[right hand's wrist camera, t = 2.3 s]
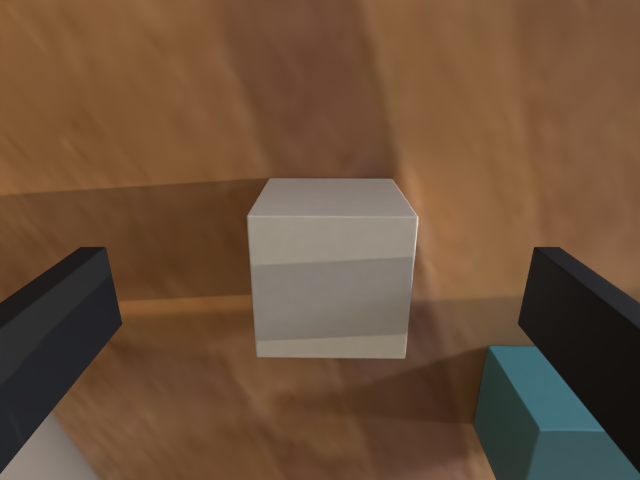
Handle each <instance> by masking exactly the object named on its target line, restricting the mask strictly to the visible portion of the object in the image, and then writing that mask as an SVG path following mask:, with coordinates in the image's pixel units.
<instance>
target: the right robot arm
mask: <svg viewBox="0 0 640 480" xmlns="http://www.w3.org/2000/svg"><path fill="white" fill-rule="evenodd" d="M121 325H122V321H121V316H120V311H119V307H118V302H117V297H116V293H115V288H114V283H113V279H112V274H111V269H110V265H109V260H108V255H107V250H106V247H80V248H79V249H77V250H76V251H75V252H73V253H72V254H70V255H69V256H67V257H66V258H64V259H63V260H62V261H60V262H59V263H57V264H56V265H54V266H53V267H52V268H50V269H49V270H47V271H46V272H44V273H43V274H42V275H40V276H39V277H37V278H36V279H34V280H33V281H31V282H30V283H29V284H27V285H26V286H24V287H23V288H21V289H20V290H19V291H17V292H16V293H14V294H13V295H11V296H10V297H9V298H7V299H6V300H4V301H3V302H1V303H0V473H1V472H2V471H3V470H4V469H5V467H6V466H7V465H8V464H9V462H10V461H11V460H12V459H13V457H14V456H15V455H16V454H17V453H18V451H19V450H20V449H21V448H22V446H23V445H24V444H25V443H26V442H27V440H28V439H29V438H30V437H31V435H32V434H33V433H34V432H35V430H36V429H37V428H38V427H39V426H40V424H41V423H42V422H43V421H44V419H45V418H46V417H47V416H48V414H49V413H50V412H51V411H52V410H53V408H54V407H55V406H56V405H57V403H58V402H59V401H60V400H61V398H62V397H63V396H64V395H65V394H66V392H67V391H68V390H69V389H70V387H71V386H72V385H73V384H74V382H75V381H76V380H77V379H78V378H79V376H80V375H81V374H82V373H83V371H84V370H85V369H86V368H87V366H88V365H89V364H90V363H91V362H92V360H93V359H94V358H95V357H96V355H97V354H98V353H99V352H100V350H101V349H102V348H103V347H104V346H105V344H106V343H107V342H108V341H109V339H110V338H111V337H112V336H113V334H114V333H115V332H116V331H117V330H118V328H119V327H120V326H121ZM518 325H519V326H520V327H521V328H522V330H523V331H524V332H525V333H526V334H527V336H528V337H529V338H530V339H531V341H532V342H533V343H534V344H535V346H536V347H537V348H538V349H539V350H540V352H541V353H542V354H543V355H544V357H545V358H546V359H547V360H548V362H549V363H550V364H551V365H552V366H553V368H554V369H555V370H556V371H557V373H558V374H559V375H560V376H561V378H562V379H563V380H564V381H565V382H566V384H567V385H568V386H569V387H570V389H571V390H572V391H573V392H574V394H575V395H576V396H577V397H578V398H579V400H580V401H581V402H582V403H583V405H584V406H585V407H586V408H587V410H588V411H589V412H590V413H591V414H592V416H593V417H594V418H595V419H596V421H597V422H598V423H599V424H600V426H601V427H602V428H603V429H604V430H605V432H606V433H607V434H608V435H609V437H610V438H611V439H612V440H613V442H614V443H615V444H616V445H617V446H618V448H619V449H620V450H621V451H622V453H623V454H624V455H625V456H626V458H627V459H628V460H629V461H630V462H631V464H632V465H633V466H634V467H635V469H636V470H637V471H638V472H639V474H640V303H639V302H637V301H636V300H634V299H633V298H631V297H630V296H629V295H627V294H626V293H624V292H623V291H621V290H620V289H619V288H617V287H616V286H614V285H613V284H611V283H610V282H609V281H607V280H606V279H604V278H603V277H601V276H600V275H598V274H597V273H596V272H594V271H593V270H591V269H590V268H588V267H587V266H586V265H584V264H583V263H581V262H580V261H578V260H577V259H576V258H574V257H573V256H571V255H570V254H568V253H567V252H565V251H564V250H563V249H561V248H560V247H534V250H533V255H532V260H531V265H530V269H529V274H528V279H527V283H526V288H525V293H524V297H523V302H522V307H521V311H520V316H519V321H518Z"/></svg>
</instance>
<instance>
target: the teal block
mask: <svg viewBox="0 0 640 480" xmlns="http://www.w3.org/2000/svg"><path fill="white" fill-rule="evenodd" d="M473 426H474V429H475V431H476V433H477V436H478V438H479V440H480V443H481V445H482V447H483V450H484V452H485V454H486V457H487V459H488V461H489V464H490V466H491V468H492V471H493V473H494V475H495V478H496V480H640V474H639V472H638V471H637V470H636V469H635V467H634V466H633V465H632V464H631V462H630V461H629V460H628V459H627V458H626V456H625V455H624V454H623V453H622V451H621V450H620V449H619V448H618V446H617V445H616V444H615V443H614V442H613V440H612V439H611V438H610V437H609V435H608V434H607V433H606V432H605V430H604V429H603V428H602V427H601V426H600V424H599V423H598V422H597V421H596V419H595V418H594V417H593V416H592V414H591V413H590V412H589V411H588V410H587V408H586V407H585V406H584V405H583V403H582V402H581V401H580V400H579V398H578V397H577V396H576V395H575V394H574V392H573V391H572V390H571V389H570V387H569V386H568V385H567V384H566V382H565V381H564V380H563V379H562V378H561V376H560V375H559V374H558V373H557V371H556V370H555V369H554V368H553V366H552V365H551V364H550V363H549V362H548V360H547V359H546V358H545V357H544V355H543V354H542V353H541V352H540V350H539V349H538V348H537V347H536V346H488V347H487V352H486V358H485V363H484V369H483V374H482V380H481V385H480V391H479V396H478V402H477V407H476V413H475V418H474V424H473Z"/></svg>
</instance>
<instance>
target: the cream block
mask: <svg viewBox="0 0 640 480" xmlns="http://www.w3.org/2000/svg"><path fill="white" fill-rule="evenodd" d="M417 227H418V216H417V215H416V213H415V212H414V210H413V209H412V207H411V206H410V204H409V203H408V201H407V200H406V198H405V197H404V196H403V194H402V193H401V191H400V190H399V188H398V187H397V185H396V184H395V182H394V181H393V180H392V179H333V178H270V179H269V180H268V182H267V183H266V185H265V187H264V188H263V190H262V192H261V193H260V195H259V197H258V198H257V200H256V202H255V203H254V205H253V207H252V208H251V210H250V212H249V213H248V215H247V232H248V246H249V260H250V275H251V289H252V303H253V318H254V332H255V346H256V356H257V357H284V358H385V359H404V358H405V355H406V344H407V334H408V323H409V312H410V302H411V291H412V280H413V270H414V259H415V248H416V238H417Z"/></svg>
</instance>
